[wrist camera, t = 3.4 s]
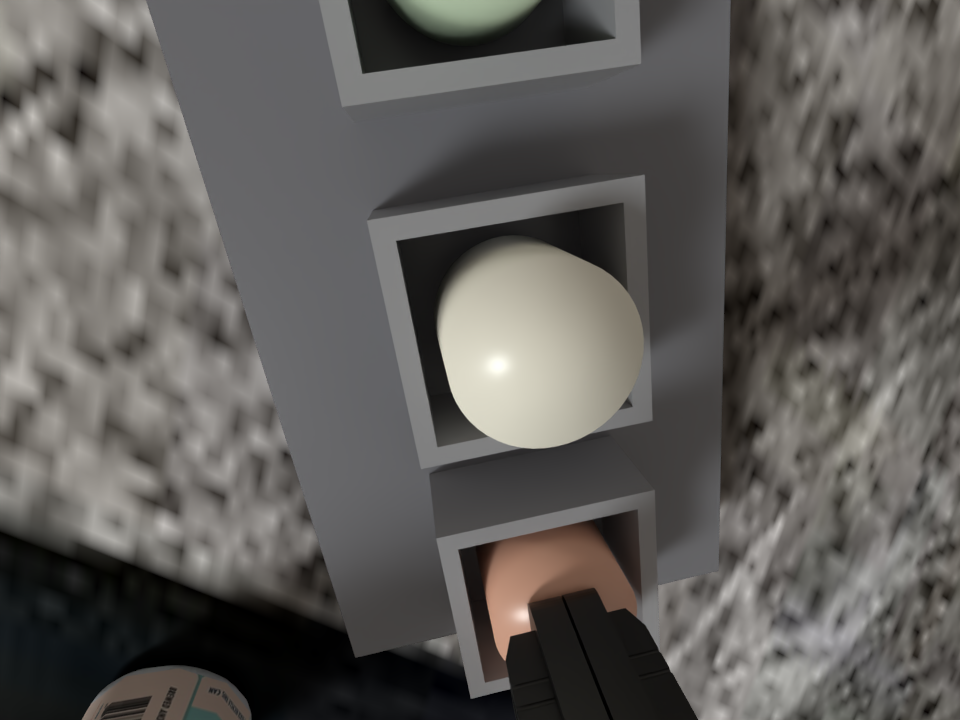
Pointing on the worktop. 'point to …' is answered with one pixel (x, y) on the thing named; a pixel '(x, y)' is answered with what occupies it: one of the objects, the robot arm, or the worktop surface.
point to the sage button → (464, 18)
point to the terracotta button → (547, 575)
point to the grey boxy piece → (432, 251)
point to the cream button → (536, 341)
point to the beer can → (169, 696)
